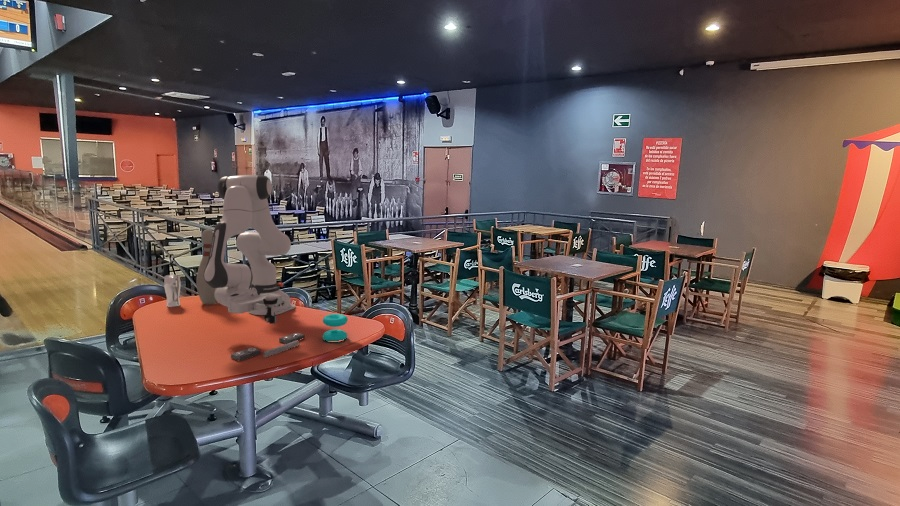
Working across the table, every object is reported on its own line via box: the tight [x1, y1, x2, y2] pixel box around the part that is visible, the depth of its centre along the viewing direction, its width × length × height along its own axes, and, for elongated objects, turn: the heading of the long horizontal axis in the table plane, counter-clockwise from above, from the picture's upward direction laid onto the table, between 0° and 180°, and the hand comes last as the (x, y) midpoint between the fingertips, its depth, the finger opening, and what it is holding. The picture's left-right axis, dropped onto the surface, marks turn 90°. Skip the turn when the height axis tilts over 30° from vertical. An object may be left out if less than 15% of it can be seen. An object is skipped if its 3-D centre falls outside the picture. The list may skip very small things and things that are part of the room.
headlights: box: [230, 332, 306, 362], centre depth 186 cm, size 31×9×2 cm, turn 150°
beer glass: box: [163, 274, 182, 308], centre depth 237 cm, size 7×7×15 cm
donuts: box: [322, 313, 348, 342], centre depth 199 cm, size 10×10×10 cm
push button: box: [263, 296, 278, 324], centre depth 184 cm, size 7×5×10 cm
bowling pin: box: [195, 228, 219, 306], centre depth 241 cm, size 11×12×38 cm
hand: (271, 306), depth 184 cm, fingers closed on push button, 3 cm apart
